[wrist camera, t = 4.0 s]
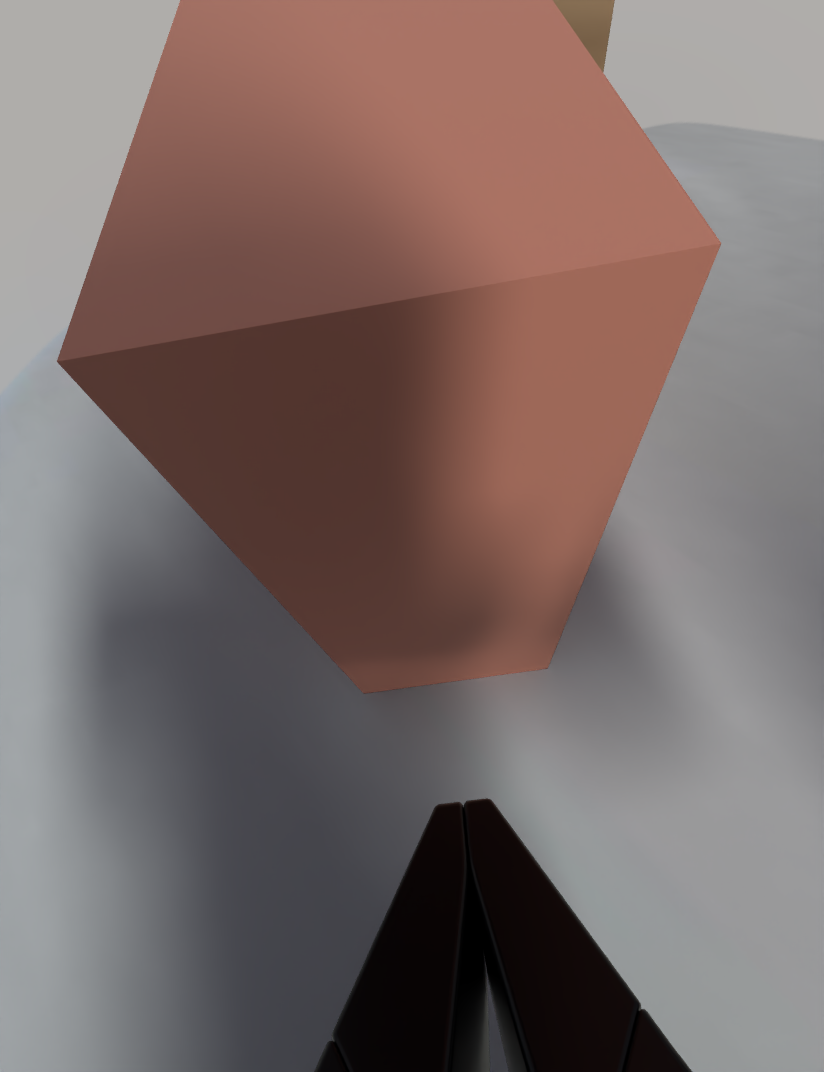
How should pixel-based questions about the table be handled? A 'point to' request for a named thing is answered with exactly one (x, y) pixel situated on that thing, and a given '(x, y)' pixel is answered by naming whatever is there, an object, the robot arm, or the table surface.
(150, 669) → the table surface
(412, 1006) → the robot arm
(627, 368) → the book box
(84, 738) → the table surface
